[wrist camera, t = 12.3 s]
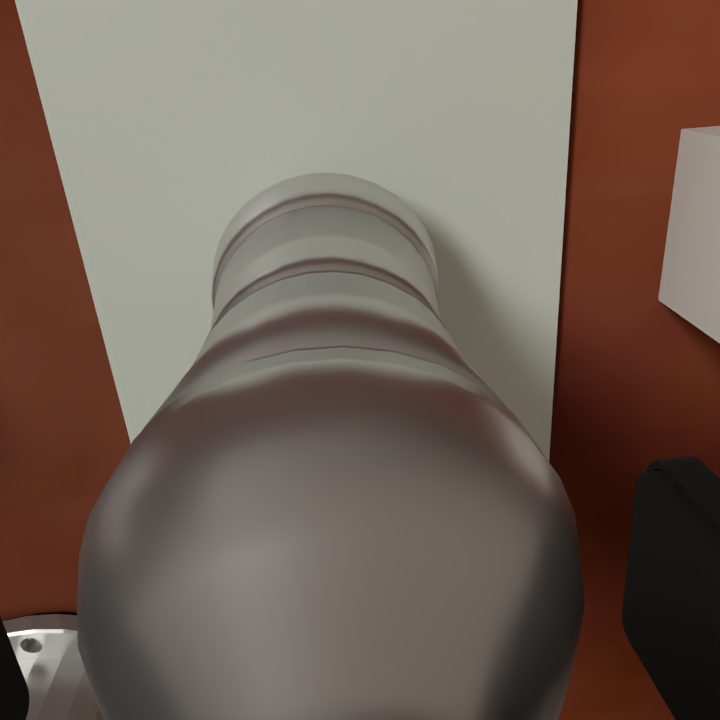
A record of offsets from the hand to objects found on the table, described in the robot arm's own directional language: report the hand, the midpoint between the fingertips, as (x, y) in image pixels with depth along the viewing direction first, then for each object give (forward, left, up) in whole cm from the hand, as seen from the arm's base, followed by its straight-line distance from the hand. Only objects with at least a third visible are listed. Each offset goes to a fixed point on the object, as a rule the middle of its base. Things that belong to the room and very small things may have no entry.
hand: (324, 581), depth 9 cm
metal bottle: (+1, 0, -14) cm, 14 cm away
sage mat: (+1, 0, -15) cm, 15 cm away
